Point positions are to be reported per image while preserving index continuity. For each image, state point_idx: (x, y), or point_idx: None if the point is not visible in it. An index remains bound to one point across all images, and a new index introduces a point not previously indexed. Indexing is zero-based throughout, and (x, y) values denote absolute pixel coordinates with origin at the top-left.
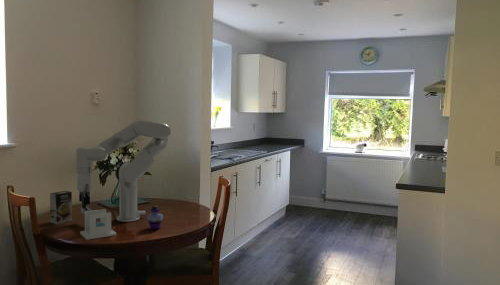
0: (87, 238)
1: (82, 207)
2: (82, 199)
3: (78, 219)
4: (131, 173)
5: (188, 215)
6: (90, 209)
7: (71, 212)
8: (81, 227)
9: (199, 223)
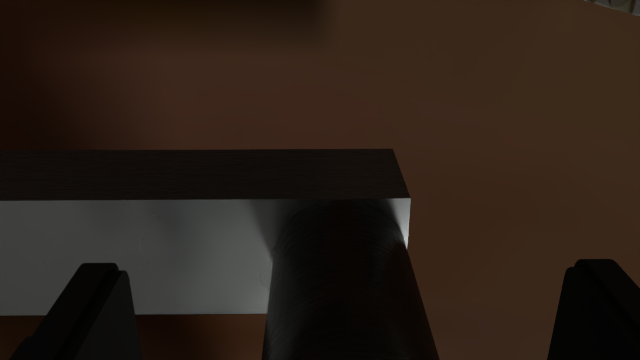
0: None
1: (305, 209)
2: (302, 347)
3: (563, 99)
4: None
5: None
6: (36, 303)
7: (621, 4)
8: (81, 28)
9: None
